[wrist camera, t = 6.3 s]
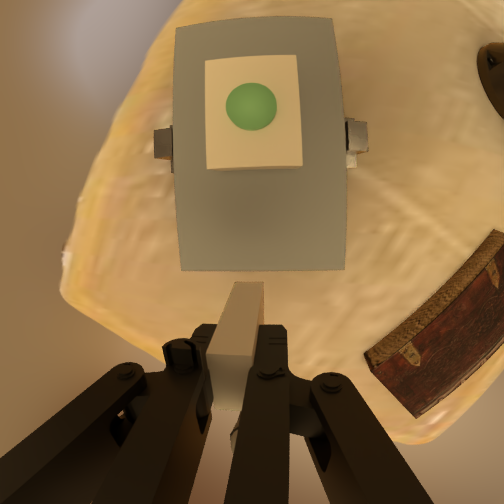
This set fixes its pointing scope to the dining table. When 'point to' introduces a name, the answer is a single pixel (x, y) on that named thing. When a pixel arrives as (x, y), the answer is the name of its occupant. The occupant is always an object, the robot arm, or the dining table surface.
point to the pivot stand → (354, 138)
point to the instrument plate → (261, 196)
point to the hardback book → (446, 333)
